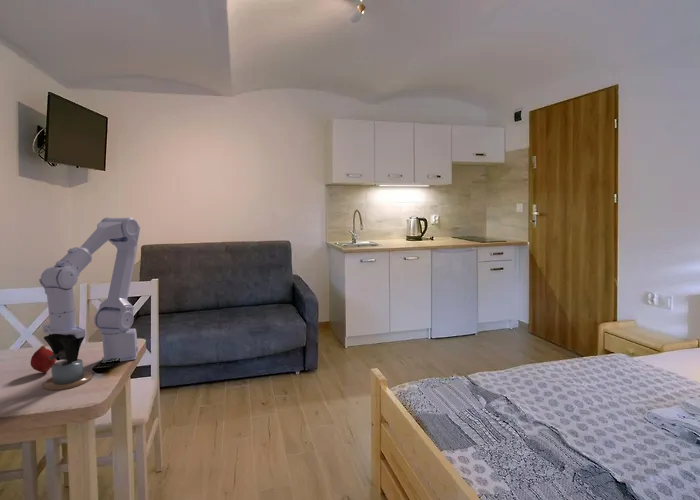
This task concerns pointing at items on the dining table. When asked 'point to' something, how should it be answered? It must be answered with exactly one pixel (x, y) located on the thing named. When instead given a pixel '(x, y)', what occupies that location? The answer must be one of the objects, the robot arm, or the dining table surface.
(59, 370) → the dispenser
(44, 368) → the red round fruit
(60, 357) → the pump head
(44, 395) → the dining table surface
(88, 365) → the dining table surface
